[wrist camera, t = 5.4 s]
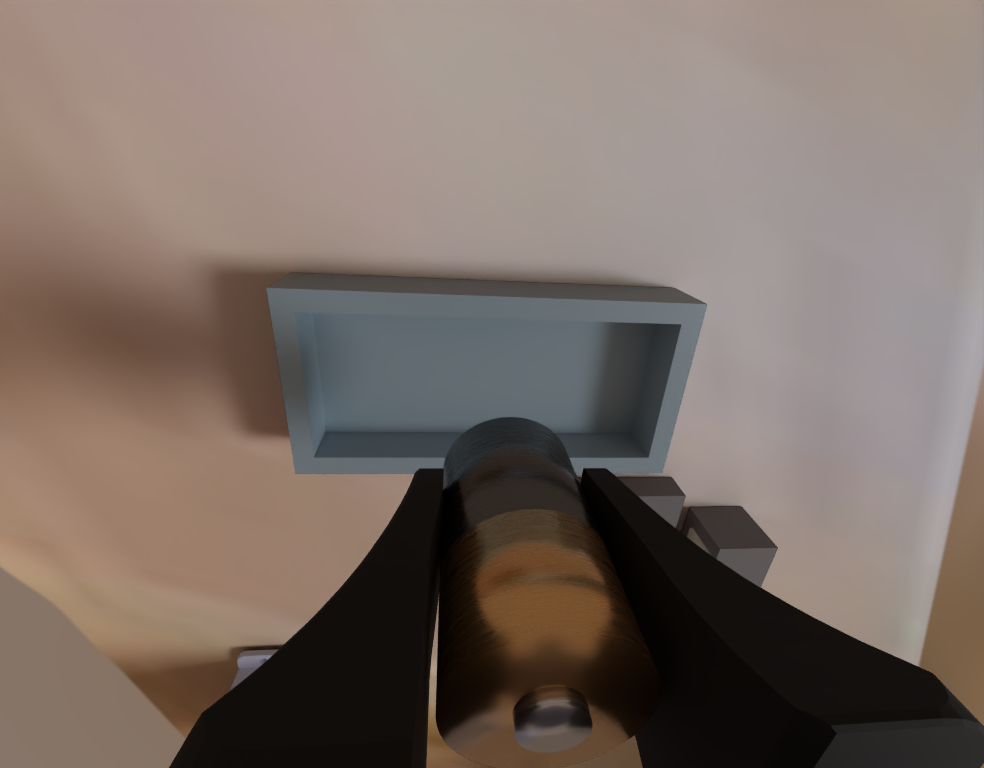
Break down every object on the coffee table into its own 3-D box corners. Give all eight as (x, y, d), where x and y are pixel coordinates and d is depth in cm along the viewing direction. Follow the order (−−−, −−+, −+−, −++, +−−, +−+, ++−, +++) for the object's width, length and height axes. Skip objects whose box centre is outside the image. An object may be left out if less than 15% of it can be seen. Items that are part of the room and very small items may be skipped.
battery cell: (442, 522, 13) (436, 799, 7) (442, 417, 12) (433, 662, 6) (561, 519, 14) (644, 782, 8) (576, 416, 12) (694, 649, 6)
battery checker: (472, 615, 26) (474, 665, 24) (480, 477, 22) (484, 520, 19) (703, 607, 28) (731, 654, 25) (752, 476, 24) (792, 515, 21)
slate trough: (313, 439, 20) (295, 473, 18) (291, 272, 17) (266, 288, 15) (639, 440, 22) (662, 472, 20) (675, 287, 19) (707, 303, 16)
